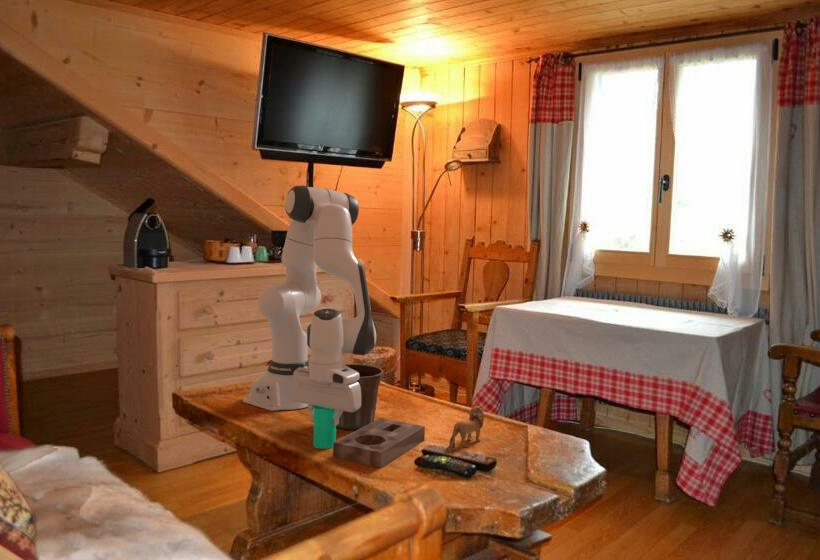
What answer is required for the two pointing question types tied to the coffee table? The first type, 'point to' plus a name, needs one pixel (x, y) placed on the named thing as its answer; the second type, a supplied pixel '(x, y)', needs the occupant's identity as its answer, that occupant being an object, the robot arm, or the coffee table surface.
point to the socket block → (378, 442)
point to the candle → (324, 427)
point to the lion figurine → (469, 426)
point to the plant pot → (363, 398)
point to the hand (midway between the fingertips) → (325, 422)
